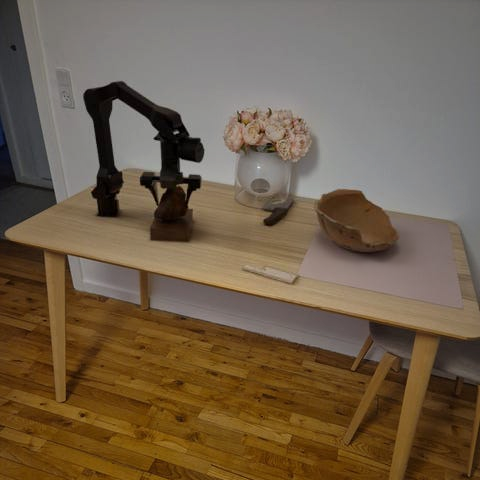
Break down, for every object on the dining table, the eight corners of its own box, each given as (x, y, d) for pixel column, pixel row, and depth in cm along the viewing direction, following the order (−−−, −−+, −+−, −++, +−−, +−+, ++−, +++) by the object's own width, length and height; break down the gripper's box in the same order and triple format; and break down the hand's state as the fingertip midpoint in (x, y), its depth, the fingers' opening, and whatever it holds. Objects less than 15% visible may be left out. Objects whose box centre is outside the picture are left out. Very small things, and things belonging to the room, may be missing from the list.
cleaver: (277, 227, 152) (278, 221, 151) (250, 222, 154) (251, 216, 153) (294, 201, 175) (295, 195, 174) (271, 197, 177) (272, 191, 176)
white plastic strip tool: (251, 262, 130) (251, 259, 129) (297, 276, 124) (298, 273, 124) (243, 269, 126) (243, 266, 125) (291, 284, 121) (291, 280, 120)
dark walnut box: (150, 240, 138) (149, 228, 136) (158, 217, 153) (158, 207, 151) (188, 241, 139) (188, 230, 137) (192, 219, 154) (192, 208, 151)
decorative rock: (181, 211, 149) (180, 179, 143) (192, 216, 145) (191, 184, 139) (151, 219, 142) (149, 186, 136) (162, 225, 138) (160, 192, 132)
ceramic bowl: (412, 257, 134) (417, 211, 126) (325, 270, 135) (324, 224, 126) (380, 221, 159) (382, 180, 151) (306, 232, 160) (304, 192, 151)
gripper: (134, 163, 125) (138, 214, 134) (199, 166, 126) (199, 217, 135) (141, 152, 134) (144, 201, 144) (201, 156, 135) (201, 204, 144)
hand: (172, 206), depth 141 cm, fingers open, 9 cm apart
